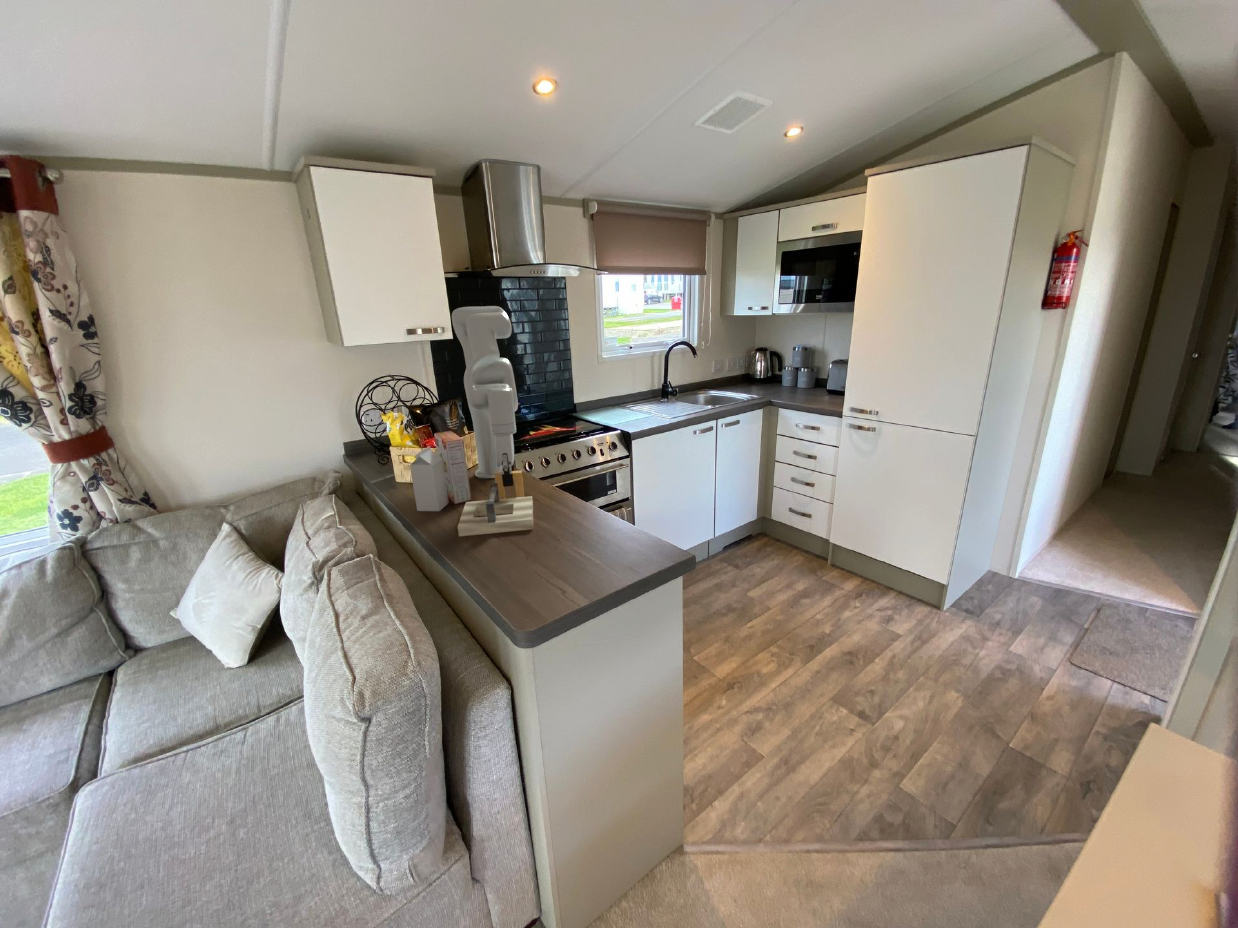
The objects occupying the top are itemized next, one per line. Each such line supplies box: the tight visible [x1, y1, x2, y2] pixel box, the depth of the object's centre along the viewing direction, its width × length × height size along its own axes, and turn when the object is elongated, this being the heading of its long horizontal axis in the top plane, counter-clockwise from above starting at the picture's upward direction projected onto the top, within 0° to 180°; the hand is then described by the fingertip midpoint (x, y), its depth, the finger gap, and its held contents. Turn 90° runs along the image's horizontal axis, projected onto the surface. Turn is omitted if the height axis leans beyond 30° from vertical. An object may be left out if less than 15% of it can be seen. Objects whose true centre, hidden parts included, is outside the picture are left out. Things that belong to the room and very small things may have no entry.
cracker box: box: [433, 430, 473, 505], centre depth 161 cm, size 14×6×21 cm, turn 33°
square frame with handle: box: [457, 482, 534, 537], centre depth 143 cm, size 18×20×8 cm
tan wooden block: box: [494, 469, 525, 499], centre depth 158 cm, size 2×8×9 cm, turn 100°
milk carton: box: [409, 445, 450, 512], centre depth 152 cm, size 7×7×19 cm
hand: (509, 480), depth 157 cm, fingers open, 9 cm apart
